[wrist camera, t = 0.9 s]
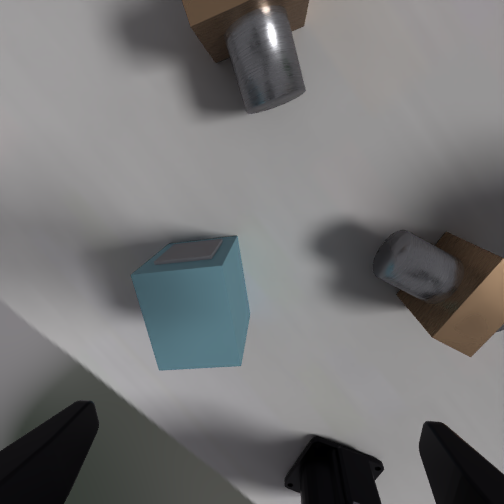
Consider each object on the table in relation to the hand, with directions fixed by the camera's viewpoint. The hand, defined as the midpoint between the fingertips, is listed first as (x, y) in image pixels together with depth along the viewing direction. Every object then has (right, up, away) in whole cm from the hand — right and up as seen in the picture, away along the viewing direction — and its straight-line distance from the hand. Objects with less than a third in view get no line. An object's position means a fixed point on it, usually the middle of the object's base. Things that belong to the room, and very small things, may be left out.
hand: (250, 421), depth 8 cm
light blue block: (-3, +3, +13) cm, 13 cm away
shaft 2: (+11, +4, +11) cm, 16 cm away
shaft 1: (0, +16, +8) cm, 18 cm away
